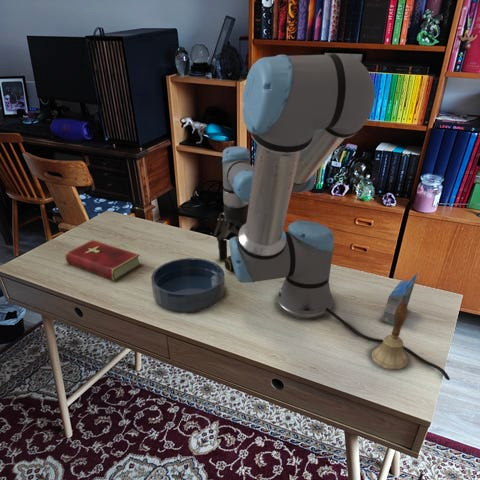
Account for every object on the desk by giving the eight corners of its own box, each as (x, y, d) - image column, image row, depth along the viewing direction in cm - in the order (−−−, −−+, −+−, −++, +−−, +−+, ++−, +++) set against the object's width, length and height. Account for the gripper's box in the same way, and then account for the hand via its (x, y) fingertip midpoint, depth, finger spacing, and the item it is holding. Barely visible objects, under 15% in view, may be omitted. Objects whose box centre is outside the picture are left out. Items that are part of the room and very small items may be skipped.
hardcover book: (114, 282, 134) (111, 269, 132) (67, 264, 143) (64, 252, 141) (141, 265, 142) (139, 253, 140) (95, 250, 151) (92, 238, 149)
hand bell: (372, 344, 109) (384, 289, 100) (407, 350, 107) (423, 295, 98) (370, 366, 103) (383, 309, 94) (407, 373, 101) (424, 316, 92)
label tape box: (393, 306, 123) (402, 267, 116) (407, 311, 121) (418, 271, 114) (381, 321, 117) (390, 281, 110) (396, 326, 115) (407, 286, 108)
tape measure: (250, 271, 139) (250, 260, 137) (231, 276, 136) (230, 266, 134) (239, 262, 144) (239, 252, 142) (221, 267, 141) (220, 256, 139)
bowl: (239, 294, 128) (239, 277, 125) (180, 322, 117) (178, 303, 114) (197, 268, 141) (195, 251, 137) (140, 291, 130) (137, 273, 126)
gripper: (275, 213, 123) (272, 278, 135) (219, 188, 138) (221, 249, 150) (256, 220, 119) (254, 287, 131) (200, 194, 134) (203, 256, 147)
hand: (236, 267), depth 141 cm, fingers open, 13 cm apart
